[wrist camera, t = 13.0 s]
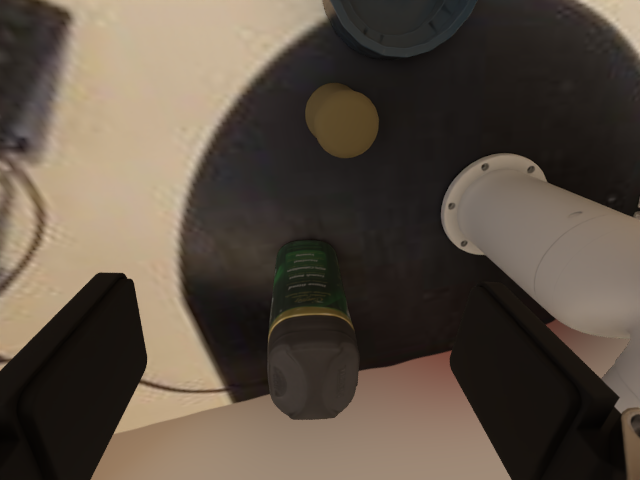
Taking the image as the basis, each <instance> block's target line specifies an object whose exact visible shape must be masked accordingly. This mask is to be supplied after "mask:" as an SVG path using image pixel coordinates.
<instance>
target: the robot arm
mask: <svg viewBox="0 0 640 480" xmlns="http://www.w3.org/2000/svg"><path fill="white" fill-rule="evenodd" d="M482 165H483V166H482ZM449 204H450V205H449ZM441 220H442V225H443V228H444V231H445V233H446V235H447V236H448V238H449V239H450V240H451V241H452V242H453V243H454V244H455V245H456V246H457V247H458V248H460V249H462V250H464V251H466V252H468V253H472V254H477V255H486V256H487V257H488V258H489V259H490V260H492V261H493V262H494V263H495V264H496V265H497V266H498V267H499V268H500V269H501V270H503V271H504V272H505V273H506V274H507V275H508V276H509V277H510V278H511V279H512V280H514V281H515V282H516V283H517V284H518V285H519V286H520V287H521V288H522V289H523V290H524V291H526V292H527V293H528V294H529V295H530V296H531V297H532V298H533V299H534V300H535V301H537V302H538V303H539V304H540V305H541V306H542V307H543V308H544V309H546V310H547V311H548V312H549V313H550V314H551V315H552V316H553V317H555V318H556V319H557V320H559V321H560V322H561V323H563V324H565V325H566V326H568V327H570V328H572V329H575V330H577V331H580V332H582V333H586V334H591V335H595V336H600V337H609V338H619V339H630V341H629V343H628V345H627V347H626V348H625V349H624V351H623V352H622V353H621V354H620V356H619V357H618V358H617V359H616V361H615V364H614V365H613V366H612V367H611V368H610V369H609V370H608V372H607V373H606V374H605V375H604V376H603V377H602V379H600V378H599V377H598V376H597V375H596V374H595V373H594V372H593V371H592V370H591V369H590V368H589V367H588V366H587V365H586V364H585V363H584V362H583V361H582V360H581V359H580V358H579V357H578V356H577V355H576V354H575V353H574V352H573V351H572V350H571V349H570V348H569V347H568V346H567V345H565V344H564V343H563V342H562V341H561V340H560V339H559V338H558V337H557V336H556V335H555V334H554V333H553V332H552V331H551V330H550V329H549V328H548V327H547V326H546V325H545V324H544V323H543V322H542V321H541V320H540V319H539V318H538V317H537V316H536V315H535V314H534V313H533V312H532V311H531V310H529V309H528V308H527V307H526V306H525V305H524V304H523V303H522V302H521V301H520V300H519V299H518V298H517V297H516V296H515V295H514V294H513V293H512V292H511V291H510V290H509V289H508V288H507V287H506V286H505V285H504V284H502V283H500V282H479V283H478V284H477V285H476V287H473V288H472V289H471V290H470V293H469V297H468V300H467V303H466V306H465V310H464V313H463V316H462V319H461V323H460V326H459V329H458V333H457V336H456V339H455V342H454V346H453V349H452V352H451V356H450V366H451V370H452V372H453V374H454V375H455V377H456V379H457V381H458V383H459V384H460V386H461V388H462V390H463V392H464V394H465V396H466V397H467V399H468V401H469V403H470V405H471V406H472V408H473V410H474V412H475V414H476V415H477V417H478V419H479V421H480V423H481V424H482V426H483V428H484V430H485V432H486V434H487V436H488V437H489V439H490V441H491V443H492V445H493V446H494V448H495V450H496V452H497V454H498V456H499V457H500V459H501V461H502V463H503V465H504V467H505V468H506V470H507V472H508V474H509V476H510V477H511V479H512V480H640V220H638V219H636V218H633V217H630V216H628V215H626V214H623V213H621V212H618V211H616V210H613V209H611V208H608V207H606V206H603V205H601V204H599V203H596V202H594V201H591V200H589V199H586V198H584V197H581V196H579V195H577V194H574V193H572V192H569V191H567V190H564V189H562V188H559V187H557V186H554V185H552V184H550V183H547V180H546V178H545V176H544V173H543V171H542V170H541V169H540V168H539V166H538V165H537V164H535V163H534V162H533V161H531V160H530V159H527V158H525V157H522V156H519V155H516V154H510V153H499V154H492V155H489V156H486V157H483V158H481V159H479V160H477V161H475V162H473V163H471V164H470V165H469V166H467V167H466V168H465V169H463V170H462V171H461V172H460V173H459V174H458V175H457V177H456V178H455V179H454V180H453V182H452V183H451V185H450V186H449V188H448V190H447V192H446V194H445V196H444V199H443V203H442V208H441ZM146 365H147V354H146V348H145V342H144V337H143V331H142V326H141V320H140V315H139V309H138V303H137V298H136V292H135V287H134V282H133V280H132V279H127V277H126V275H125V274H123V273H98V274H96V275H95V276H94V277H93V278H92V279H91V280H90V281H89V282H88V283H87V284H86V285H85V286H84V287H83V288H82V289H81V290H80V291H79V292H78V293H77V294H76V295H75V296H74V297H73V298H72V299H71V300H70V301H69V302H68V303H67V304H66V305H65V306H64V307H63V308H62V309H61V310H60V311H59V312H58V313H57V314H56V315H55V316H54V317H53V318H52V319H51V320H50V321H49V322H48V323H47V324H46V325H45V326H44V327H43V328H42V329H41V330H40V331H39V332H38V333H37V334H36V335H35V336H34V337H33V338H32V339H31V340H30V341H29V342H28V343H27V345H26V346H25V347H24V348H23V349H22V350H21V351H20V352H19V353H18V354H17V355H16V356H15V357H14V358H13V359H12V360H11V361H10V362H9V363H8V364H7V365H6V366H5V367H4V368H3V369H2V370H1V371H0V480H90V479H91V477H92V475H93V473H94V471H95V469H96V467H97V465H98V463H99V461H100V459H101V457H102V455H103V453H104V451H105V449H106V447H107V445H108V443H109V441H110V439H111V437H112V435H113V433H114V431H115V429H116V427H117V425H118V423H119V421H120V419H121V417H122V415H123V413H124V412H125V410H126V408H127V406H128V404H129V402H130V400H131V398H132V396H133V394H134V392H135V390H136V388H137V386H138V384H139V382H140V380H141V378H142V376H143V374H144V371H145V369H146Z"/></svg>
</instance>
